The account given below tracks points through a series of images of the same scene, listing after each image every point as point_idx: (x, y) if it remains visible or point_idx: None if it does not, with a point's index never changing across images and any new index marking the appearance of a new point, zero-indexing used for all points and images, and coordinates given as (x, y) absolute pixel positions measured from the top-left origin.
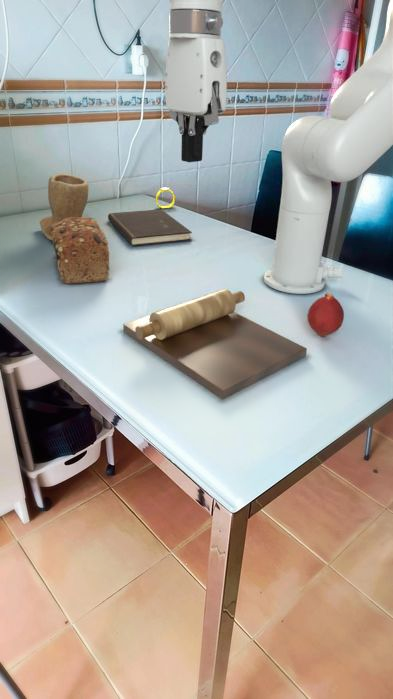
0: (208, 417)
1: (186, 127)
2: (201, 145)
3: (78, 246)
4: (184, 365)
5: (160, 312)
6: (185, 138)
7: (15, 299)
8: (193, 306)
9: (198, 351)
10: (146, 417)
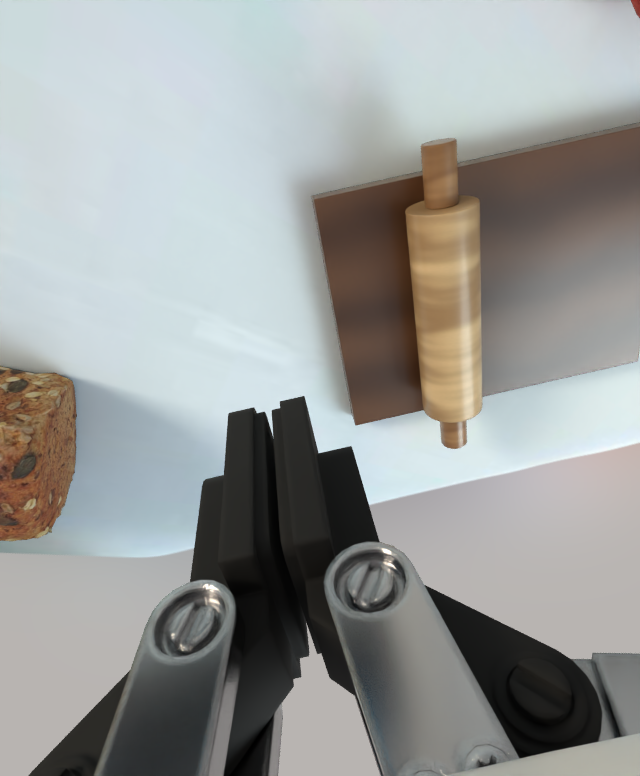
0: (635, 388)
1: (258, 722)
2: (365, 497)
3: (43, 501)
4: (541, 382)
5: (463, 415)
6: (306, 639)
7: (129, 544)
8: (474, 339)
9: (525, 343)
10: (576, 452)
